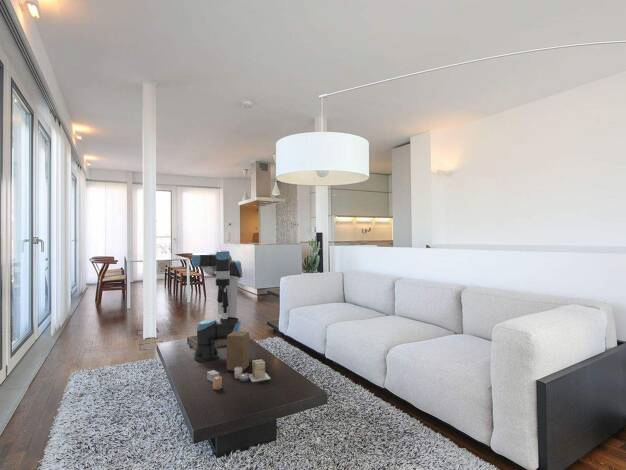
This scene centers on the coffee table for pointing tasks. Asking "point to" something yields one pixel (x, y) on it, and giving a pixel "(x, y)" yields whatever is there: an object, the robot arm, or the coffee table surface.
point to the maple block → (258, 369)
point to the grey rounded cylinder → (238, 372)
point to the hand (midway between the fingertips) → (222, 316)
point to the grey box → (212, 375)
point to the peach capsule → (217, 382)
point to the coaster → (258, 378)
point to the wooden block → (237, 350)
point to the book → (193, 342)
